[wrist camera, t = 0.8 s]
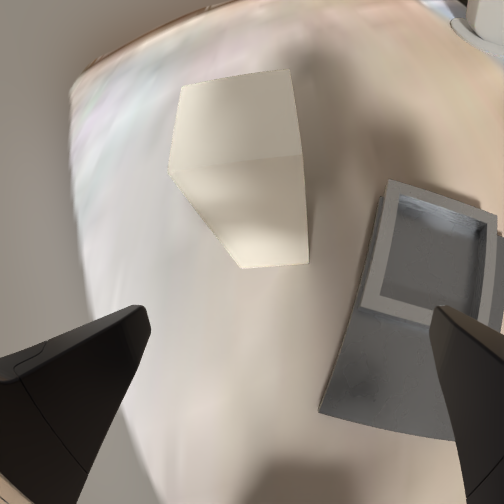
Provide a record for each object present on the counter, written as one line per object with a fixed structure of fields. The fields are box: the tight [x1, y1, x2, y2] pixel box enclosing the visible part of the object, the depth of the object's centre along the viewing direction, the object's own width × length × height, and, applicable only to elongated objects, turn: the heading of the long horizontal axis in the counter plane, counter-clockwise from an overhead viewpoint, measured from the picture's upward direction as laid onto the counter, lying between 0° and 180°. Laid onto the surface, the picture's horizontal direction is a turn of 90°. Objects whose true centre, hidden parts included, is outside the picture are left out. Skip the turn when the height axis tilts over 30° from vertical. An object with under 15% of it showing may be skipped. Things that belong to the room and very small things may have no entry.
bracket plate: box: [318, 179, 504, 441], centre depth 18 cm, size 17×12×2 cm
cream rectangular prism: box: [167, 69, 309, 269], centre depth 18 cm, size 5×5×13 cm
